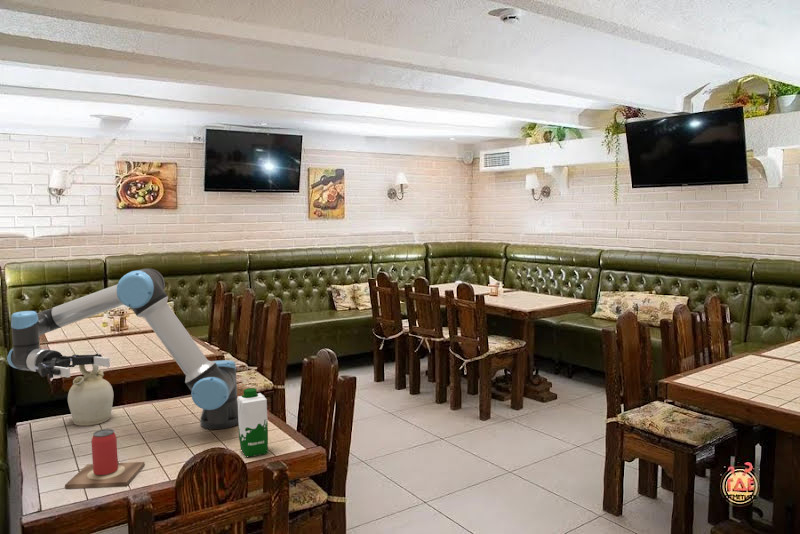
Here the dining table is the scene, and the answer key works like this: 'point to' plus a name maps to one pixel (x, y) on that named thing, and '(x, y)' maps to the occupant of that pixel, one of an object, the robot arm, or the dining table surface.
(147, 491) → the dining table surface
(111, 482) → the serving board
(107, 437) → the beer can
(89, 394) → the jug
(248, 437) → the milk carton
